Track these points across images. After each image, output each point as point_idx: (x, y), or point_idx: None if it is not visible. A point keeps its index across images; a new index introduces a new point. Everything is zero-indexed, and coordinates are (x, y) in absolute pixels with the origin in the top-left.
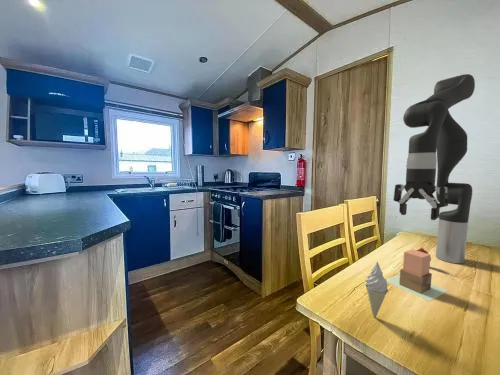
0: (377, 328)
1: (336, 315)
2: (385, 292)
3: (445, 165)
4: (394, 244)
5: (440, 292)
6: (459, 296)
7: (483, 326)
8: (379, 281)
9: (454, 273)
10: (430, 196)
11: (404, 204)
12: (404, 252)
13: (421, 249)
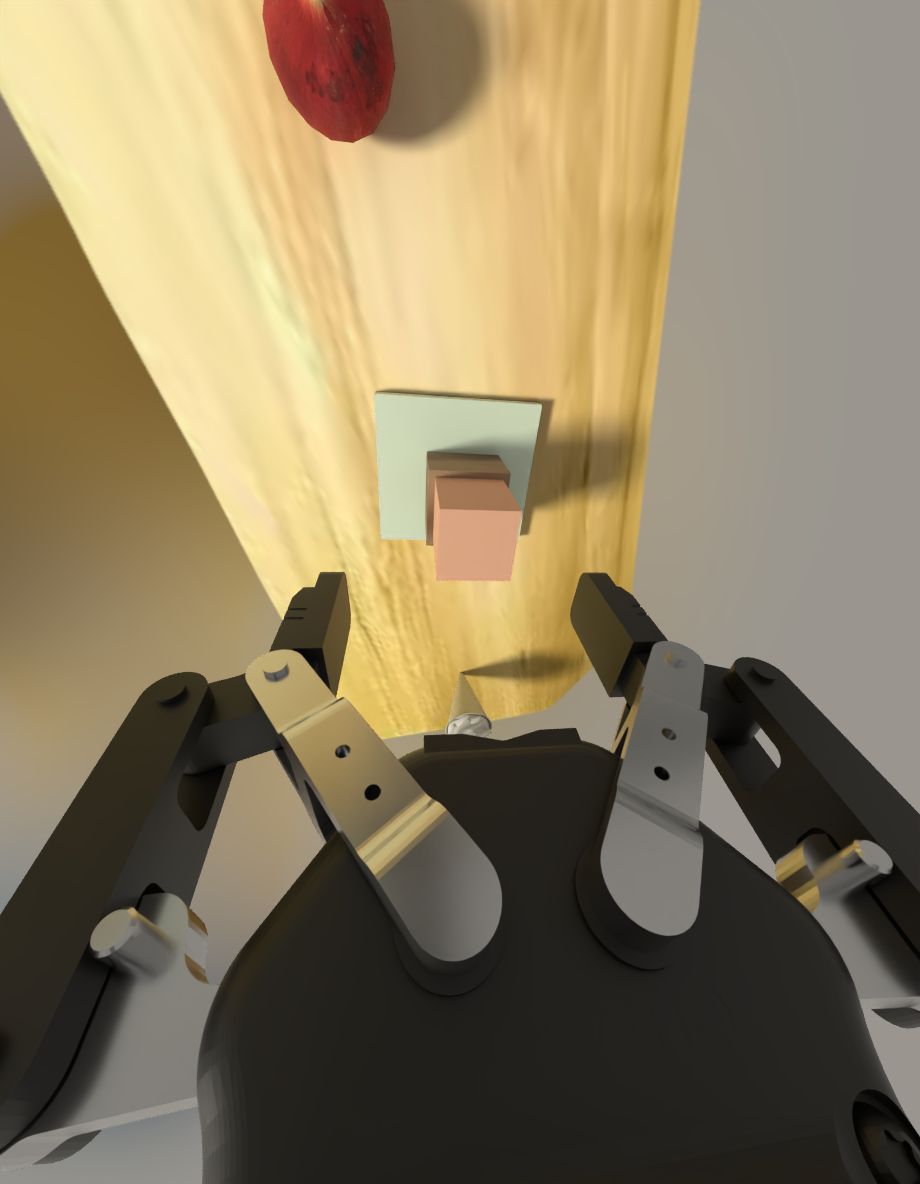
0: (480, 690)
1: (419, 717)
2: (481, 710)
3: None
4: None
5: (526, 451)
6: (567, 381)
7: (620, 520)
8: None
9: None
10: (649, 759)
11: (330, 688)
12: (437, 578)
13: (321, 20)
